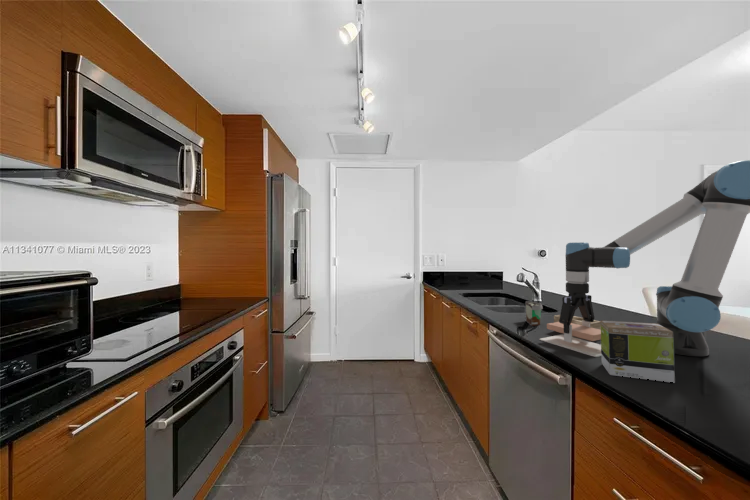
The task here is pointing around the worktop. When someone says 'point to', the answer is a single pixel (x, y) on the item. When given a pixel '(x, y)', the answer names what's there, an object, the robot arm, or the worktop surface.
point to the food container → (533, 313)
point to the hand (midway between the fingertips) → (577, 339)
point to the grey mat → (575, 345)
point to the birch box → (580, 322)
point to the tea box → (638, 350)
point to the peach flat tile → (577, 331)
